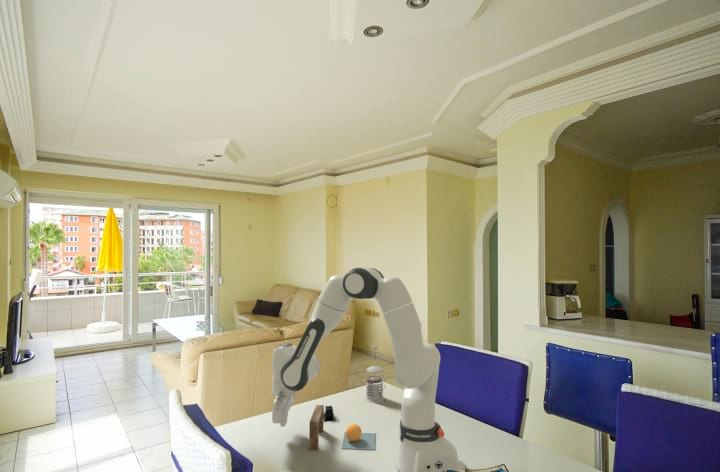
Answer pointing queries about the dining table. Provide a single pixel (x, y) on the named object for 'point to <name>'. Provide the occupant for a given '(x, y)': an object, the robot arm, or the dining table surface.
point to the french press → (374, 385)
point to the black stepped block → (329, 414)
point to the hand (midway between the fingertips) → (283, 424)
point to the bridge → (316, 426)
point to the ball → (353, 432)
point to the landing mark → (360, 442)
